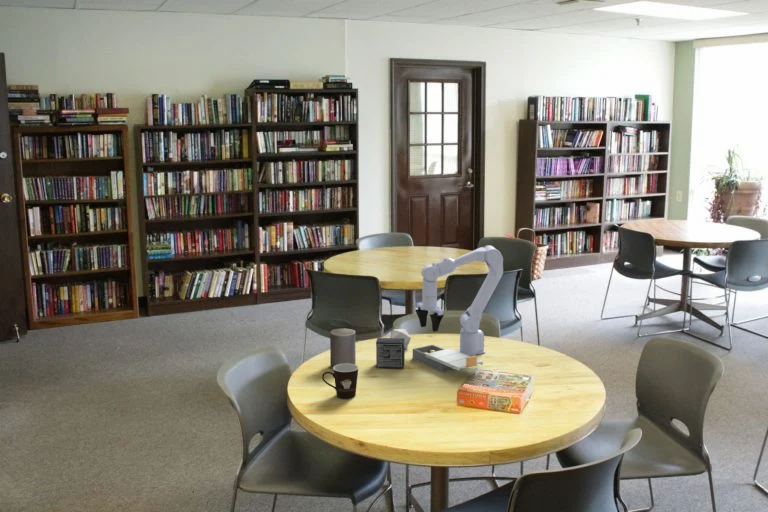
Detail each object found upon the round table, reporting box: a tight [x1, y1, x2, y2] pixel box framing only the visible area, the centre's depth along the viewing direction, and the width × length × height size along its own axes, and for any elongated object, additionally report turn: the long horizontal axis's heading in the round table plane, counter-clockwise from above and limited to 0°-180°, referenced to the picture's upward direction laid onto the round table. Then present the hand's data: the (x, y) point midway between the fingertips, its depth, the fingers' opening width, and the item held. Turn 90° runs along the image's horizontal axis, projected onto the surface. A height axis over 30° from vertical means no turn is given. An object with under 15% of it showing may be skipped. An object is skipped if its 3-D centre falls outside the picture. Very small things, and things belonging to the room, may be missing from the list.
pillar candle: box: [329, 327, 357, 370], centre depth 286 cm, size 10×10×15 cm
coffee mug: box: [321, 364, 359, 400], centre depth 257 cm, size 12×9×10 cm
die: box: [389, 328, 412, 350], centre depth 309 cm, size 8×9×10 cm
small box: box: [375, 337, 406, 370], centre depth 287 cm, size 11×6×10 cm, turn 84°
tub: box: [412, 344, 454, 372], centre depth 291 cm, size 10×18×4 cm, turn 35°
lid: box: [426, 348, 484, 371], centre depth 282 cm, size 12×20×4 cm, turn 35°
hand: (429, 328), depth 300 cm, fingers open, 7 cm apart
